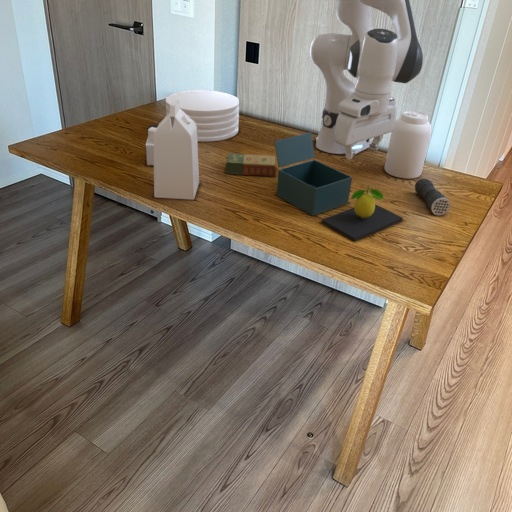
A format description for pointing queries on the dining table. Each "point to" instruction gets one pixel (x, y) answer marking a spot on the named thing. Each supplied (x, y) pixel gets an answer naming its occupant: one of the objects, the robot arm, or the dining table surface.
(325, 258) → the dining table surface
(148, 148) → the medicine bottle
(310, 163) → the box
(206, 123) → the plate stack
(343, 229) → the mat
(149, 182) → the dining table surface
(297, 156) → the flap
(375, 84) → the robot arm
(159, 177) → the milk
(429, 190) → the flashlight
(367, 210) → the lemon
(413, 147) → the white lidded jar
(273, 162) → the carton
